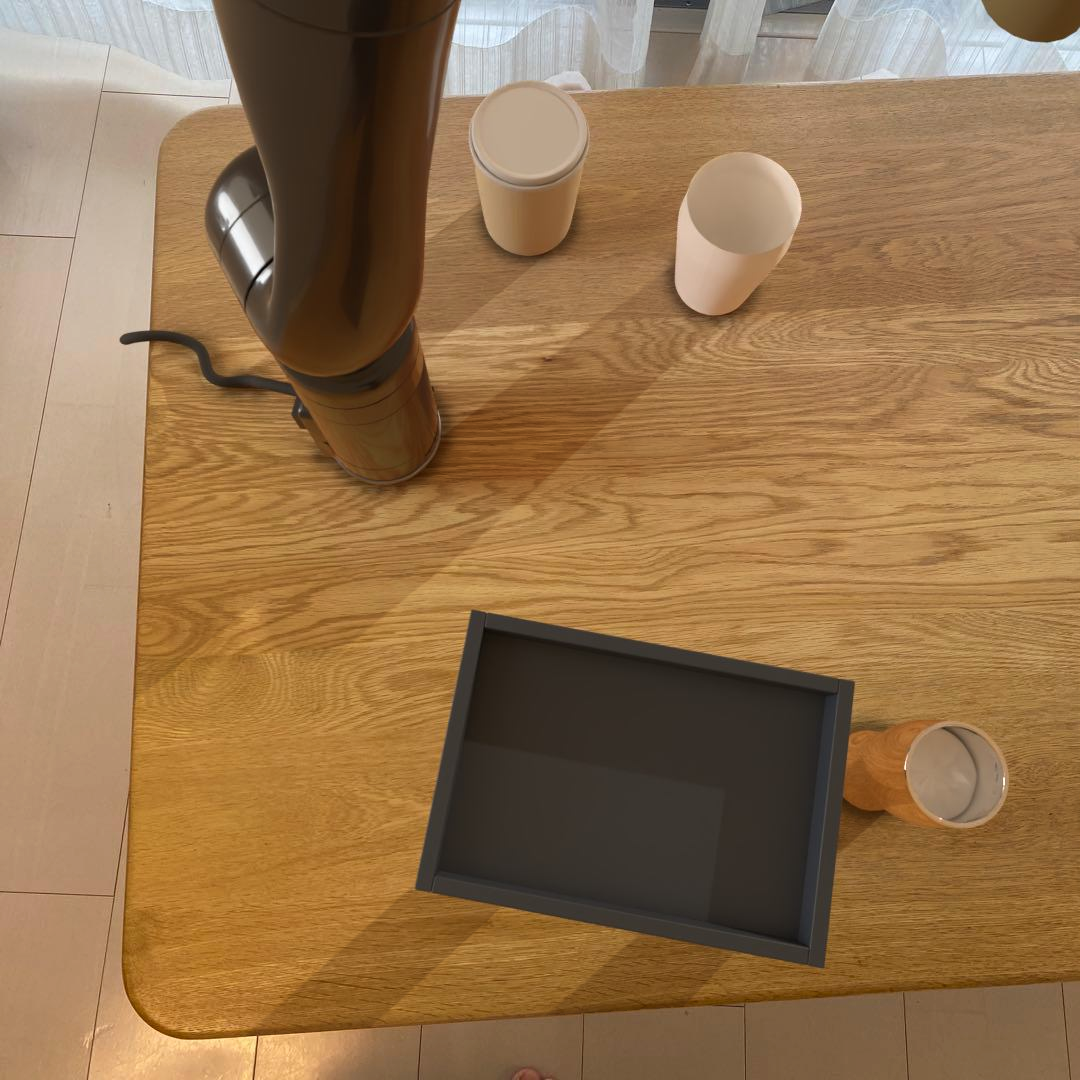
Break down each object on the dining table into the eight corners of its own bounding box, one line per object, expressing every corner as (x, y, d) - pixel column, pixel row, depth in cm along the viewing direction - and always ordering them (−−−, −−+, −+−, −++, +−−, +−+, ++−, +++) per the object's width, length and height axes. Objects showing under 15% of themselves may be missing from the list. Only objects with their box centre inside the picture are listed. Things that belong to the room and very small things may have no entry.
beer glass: (888, 834, 72) (983, 854, 57) (809, 784, 72) (882, 792, 58) (928, 755, 73) (1031, 755, 58) (850, 707, 74) (932, 696, 59)
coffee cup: (527, 151, 84) (528, 54, 73) (602, 217, 83) (615, 129, 71) (453, 217, 83) (442, 128, 71) (528, 285, 81) (530, 206, 70)
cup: (781, 267, 82) (825, 187, 71) (731, 347, 80) (767, 278, 69) (693, 217, 83) (722, 129, 71) (641, 295, 81) (662, 218, 70)
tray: (453, 838, 71) (414, 889, 44) (488, 661, 74) (471, 608, 47) (708, 887, 70) (824, 969, 44) (732, 707, 74) (855, 681, 47)
